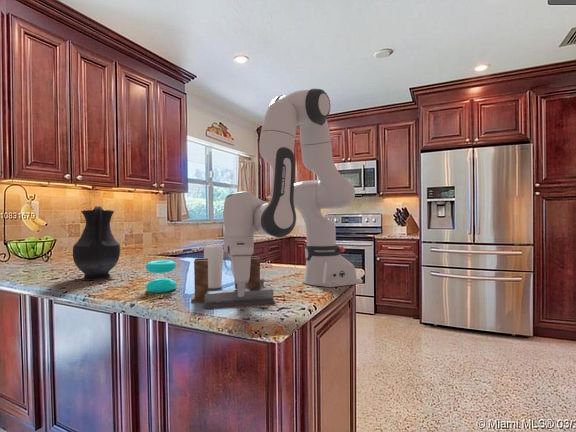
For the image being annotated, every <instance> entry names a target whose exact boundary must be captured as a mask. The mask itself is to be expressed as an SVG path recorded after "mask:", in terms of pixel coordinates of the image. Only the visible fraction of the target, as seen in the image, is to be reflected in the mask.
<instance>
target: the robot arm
mask: <svg viewBox="0 0 576 432" xmlns="http://www.w3.org/2000/svg"><path fill="white" fill-rule="evenodd" d="M266 109H267V110H266V112H265V114H264V118H263V122H262V125H261V130H260V137H259V142H258V143H259V146H258V147H259V154H260V156H261V158H262V159H263V160H264V161H265V162H266V163H267V164H269V165H270V166H271V169H272V175H273V176H272V186H271V187H272V188H271V198H270V199H269V201H268V202H267V201H265V200H262V199H260V198H258V197H257V196H255V195H254V194H252V192H251V191H248V190H247V191H246V190H245V191H244V190H243V191H238V192H232V193H230V194H228V195H226V197H225V199H224V204H223V213H222V214H223V221H222V222H223V225H224V233H223V253H226V254H227V257H228V258H229V259H230V271H231V274H232V276H233V279H234V290H237V292H238V297H243V296H244V289H245V283H248V282H249V277H250V265H251V256H253V254H254V251H255V249H254V248H255V247H254V246H255V245H254V239H255V238H254V237H255V236H254V235H255V234H254V233H255V232H256V233H259V234H263V235H267V236H268V235H269V236H272V237H275V238H283V237H286V236H288V235H289V234H291V232H292V231H293V230H294V228H295V226H296V223H297V213H296V210H297V211H298V212H299V213H300V216H302V219H303V221H304V224H305V233H306V244H305V249H304V252H305V253H304V255H305V261H306V262H305V270H304V276H303V279H302V283H304V284H305V285H309V286H317V287H324V288H325V287H326V288H334V287H341V286H342V287H345V286H351V285H359V284H360V285H361V284H363V279H362V278H361V277H358V276H357V271H356V268H355V265H354V264H353V263H351V262H350V261H349V260H347V258H345V257H344V256H342V254H341V253H344V252H345V251H346V248H345V246H338V245H337V242H336V241H337V240H336V239H337V235H336V234H337V232H336V231H337V229H336V224H335V223H334V222H333V221H332V220H331V219H328V218H327V217H325V216H324V215H323V213H322V211H321V210H322V209H323V210H325V209H327V210H329V209H331V210H332V209H342V208H347V207H350V206H351V204H353V202H354V200H355V196H356V190H355V187H354V185H353V184H352V182H351V181H349V180H348V179H347V178H346V177H344V176H343V175H342V174H341V172H339V170H338V168H337V167H336V165H335V162H334V156H333V149H332V142H331V141H332V140H331V130H330V127H329V123H328V117H329V115H330V112H331V100H330V97H329V95H328V94H327V92H326V91H325V90H324V89H321V88H311V89H302V90H296V91H294V92H290V93H287V94H284V95H282V94H281V95H279V96H276V97H275V98H274V99H272V100H271V102H270V103H269V105H268V107H267V108H266ZM297 127H299V140H300V148H301V149H300V151H301V152H300V153H301V159H302V160H301V161H302V164H303V166H304V167H305V169H307V170H309V171H311V172H313V173H314V174H315V175H316V176H317V177H318V179H315V180H302V181H299V182H295V179H296V177H295V176H296V158H295V145H296V138H297V137H296V136H297Z"/></svg>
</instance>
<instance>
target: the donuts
mask: <svg viewBox="0 0 576 432" xmlns="http://www.w3.org/2000/svg"><path fill="white" fill-rule="evenodd" d="M176 268H177V262H176V261H174V260H168V259H163V260H162V259H161V260H160V259H159V260H152V261H148V262H147V263H146V264H145V269H146V271H148V272H149V273H151V274H167V273H170V272H172V271H174V270H175V269H176ZM176 288H177V282H176V281H175V280H173V278H172V279H171V278H156V279H152V280H150V281H148V282H147V284H146V285H145V290H146V291H147V292H149V293H153V294H154V293H155V294H159V293H160V294H161V293H168V292H171V291H173V290H175V289H176Z"/></svg>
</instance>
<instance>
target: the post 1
mask: <svg viewBox="0 0 576 432" xmlns="http://www.w3.org/2000/svg"><path fill="white" fill-rule="evenodd" d="M193 265H194V266H193V267H194V268H193V269H194V270H193V271H194V294H192V295H191V298H190V303H205V292H207V291H209V288H208V258H204V257H202V258H194V261H193Z"/></svg>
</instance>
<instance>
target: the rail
mask: <svg viewBox="0 0 576 432" xmlns="http://www.w3.org/2000/svg"><path fill="white" fill-rule="evenodd" d="M237 290H238V289H227V290H226V289H225V290H210V291H209V290H208V291H207V292H205V302H204V305H205V304H218V303H232V302H247V301H261V300H274V289H273V287H263V288H255V289H244V296H243V297H238V292H237Z"/></svg>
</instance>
